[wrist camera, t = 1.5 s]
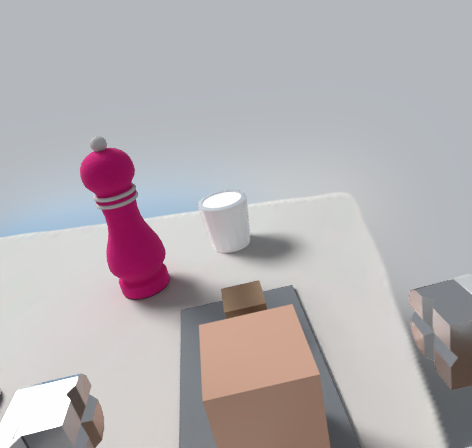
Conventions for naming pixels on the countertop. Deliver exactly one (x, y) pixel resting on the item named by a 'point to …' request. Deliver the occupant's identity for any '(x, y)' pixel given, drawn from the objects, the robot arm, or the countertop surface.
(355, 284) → the countertop surface
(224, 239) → the white cup
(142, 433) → the countertop surface
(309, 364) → the tan rectangular block
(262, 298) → the block
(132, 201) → the pepper mill
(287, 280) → the countertop surface
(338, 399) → the mat
